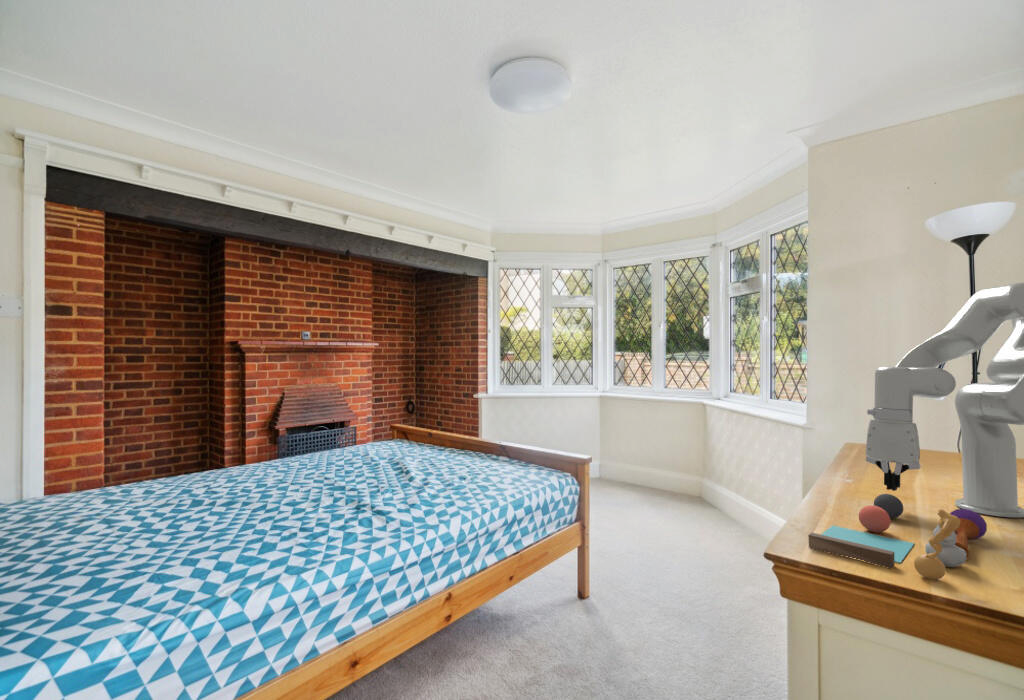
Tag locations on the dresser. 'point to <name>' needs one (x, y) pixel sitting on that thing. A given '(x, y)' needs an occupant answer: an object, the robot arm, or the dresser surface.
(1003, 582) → the dresser surface
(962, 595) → the dresser surface
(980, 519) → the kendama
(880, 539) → the teal mark
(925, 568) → the figurine
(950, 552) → the gray statuette
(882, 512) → the red ball
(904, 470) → the robot arm
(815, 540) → the walnut rail
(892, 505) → the dark gray ball
